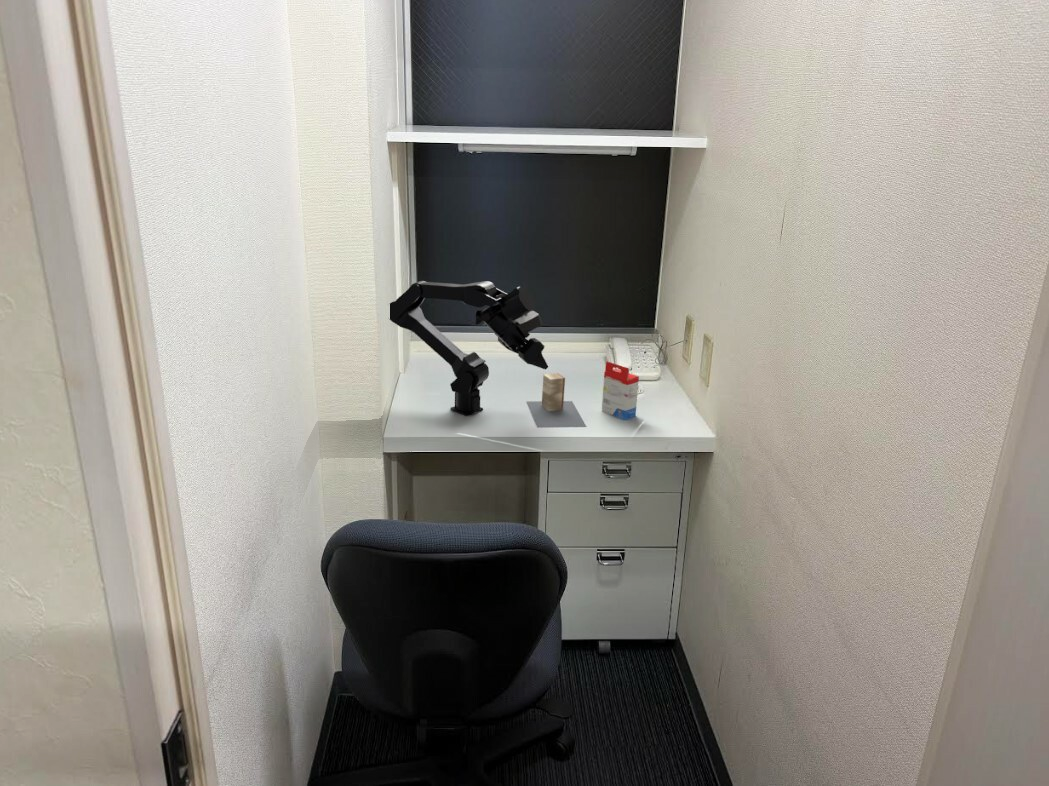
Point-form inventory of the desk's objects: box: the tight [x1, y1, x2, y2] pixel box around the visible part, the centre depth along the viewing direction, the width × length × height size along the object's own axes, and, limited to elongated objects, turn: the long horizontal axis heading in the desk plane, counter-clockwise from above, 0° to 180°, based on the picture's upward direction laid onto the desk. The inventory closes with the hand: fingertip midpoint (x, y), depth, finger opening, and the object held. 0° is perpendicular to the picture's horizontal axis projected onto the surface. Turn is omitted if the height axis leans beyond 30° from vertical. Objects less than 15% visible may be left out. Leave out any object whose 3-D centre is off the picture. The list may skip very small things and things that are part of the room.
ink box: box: [601, 361, 640, 421], centre depth 212 cm, size 8×5×15 cm, turn 43°
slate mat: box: [526, 400, 587, 429], centre depth 212 cm, size 19×13×1 cm
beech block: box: [541, 372, 566, 411], centre depth 214 cm, size 4×4×9 cm
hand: (539, 362), depth 210 cm, fingers open, 9 cm apart
